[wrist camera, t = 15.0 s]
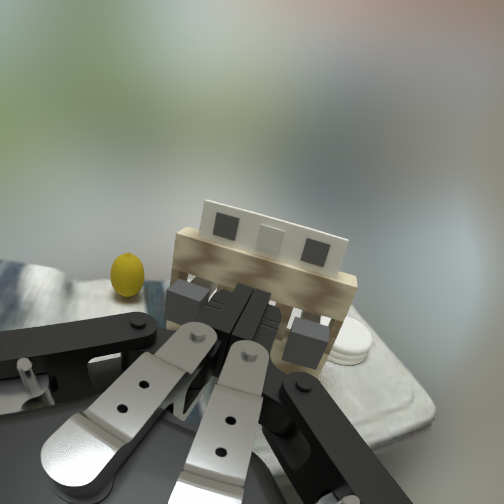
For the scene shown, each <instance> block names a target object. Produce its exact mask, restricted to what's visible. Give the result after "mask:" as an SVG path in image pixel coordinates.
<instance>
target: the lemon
mask: <svg viewBox="0 0 504 504" xmlns="http://www.w3.org/2000/svg"><path fill="white" fill-rule="evenodd" d="M111 283H112V286H113V288H114V290H115V291H116V292H117V293H118V294H120V295H122V296H125V297H126V298H128V297H129V296H133V295H135V294H137V293H138V292H139V291H140V290H141V288H142V286H143V283H144V268H143V265H142V263H141V261H140V259H139V258H137V257H136V256H135V255H133V254H131V253H126V254H122V255H120V256H119V257H117V258H116V259H115V261H114V263H113V265H112V268H111Z"/></svg>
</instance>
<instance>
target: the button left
mask: <svg viewBox="0 0 504 504" xmlns="http://www.w3.org/2000/svg"><path fill="white" fill-rule="evenodd" d="M217 286H218V283H215V282H212V281H209V280H206V279H203V278H200V277H197V276H196V277H195V278H194V279H193V280H192V281H191V282H187V281H184V280H181V279H178V280H177V281H176V282H175V283H174V284H173V285H172V286H170V287H169V288H168V289H167V294H166V306H165V318H164V319H166V320H169V321H171V322H174V323H176V324H179V325H181V326H182V325H184V324H186V323H189V322H194V321H195V319H196V318H197V317H198V315H199V314H200V313H201V311H202V310H203V309H204V307H205V306H206V305H207V303H208V300H209V297H210V295H211V294H212V293H213V292H214V290H215V289H216V288H217Z"/></svg>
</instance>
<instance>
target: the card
mask: <svg viewBox="0 0 504 504" xmlns="http://www.w3.org/2000/svg"><path fill="white" fill-rule="evenodd" d="M198 237H199V238H202V239H205V240H209V241H212V242H215V243H219V244H222V245H225V246H229V247H232V248H235V249H239V250H242V251H245V252H249V253H252V254H255V255H259V256H262V257H265V258H269V259H272V260H275V261H279V262H282V263H285V264H289V265H292V266H296V267H299V268H302V269H306V270H309V271H312V272H316V273H319V274H322V275H326V276H329V277H332V278H336V277H337V274H338V271H339V268H340V265H341V262H342V259H343V257H344V254H345V251H346V248H347V245H348V242H349V241H348V239H345V238H341V237H338V236H335V235H332V234H328V233H325V232H322V231H318V230H315V229H311V228H308V227H304V226H301V225H298V224H294V223H291V222H287V221H284V220H280V219H277V218H273V217H269V216H266V215H263V214H259V213H255V212H252V211H248V210H244V209H241V208H237V207H233V206H229V205H226V204H222V203H218V202H215V201H211V200H205V201H204V206H203V211H202V217H201V223H200V229H199V236H198Z"/></svg>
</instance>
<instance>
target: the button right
mask: <svg viewBox="0 0 504 504" xmlns="http://www.w3.org/2000/svg"><path fill="white" fill-rule="evenodd" d="M320 320H321V315H318V314H315V313H311V312H308V311H305V310H302V312H301V317H300V318H298V317H295V319H294V322H293V325H292V327H291V330H290V333H289V336H288V339H287V342H286V344H285V348H284V352H283V355H282V359H281V360H283V361H287V362H290V363H294V364H297V365H300V366H304V367H308V368H311V369H315V370H316V369H317V366H318V364H319V362H320V360H321V358H322V356H323V353H324V351H325V349H326V347H327V344H328V341H329V327H328V326H325V325H322V324H320Z"/></svg>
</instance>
